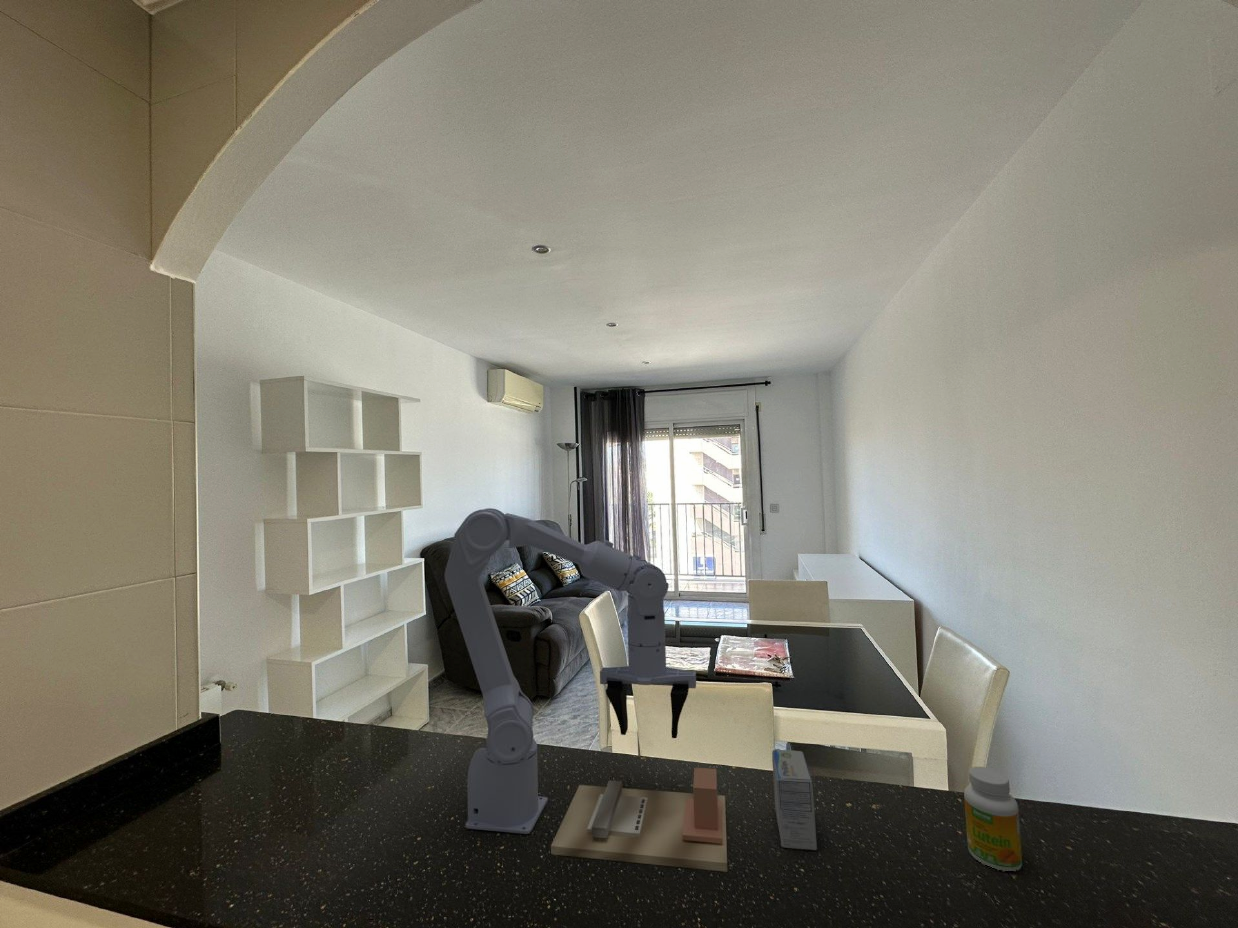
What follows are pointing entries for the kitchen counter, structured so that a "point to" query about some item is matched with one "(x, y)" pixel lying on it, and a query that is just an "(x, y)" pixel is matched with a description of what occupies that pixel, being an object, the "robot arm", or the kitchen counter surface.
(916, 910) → the kitchen counter surface
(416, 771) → the kitchen counter surface
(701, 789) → the stub
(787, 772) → the medicine box
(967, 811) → the supplement bottle
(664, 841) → the board
